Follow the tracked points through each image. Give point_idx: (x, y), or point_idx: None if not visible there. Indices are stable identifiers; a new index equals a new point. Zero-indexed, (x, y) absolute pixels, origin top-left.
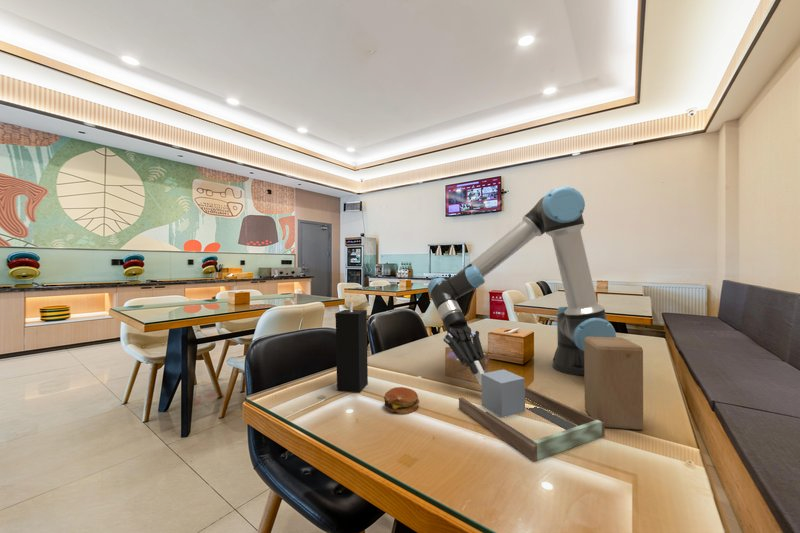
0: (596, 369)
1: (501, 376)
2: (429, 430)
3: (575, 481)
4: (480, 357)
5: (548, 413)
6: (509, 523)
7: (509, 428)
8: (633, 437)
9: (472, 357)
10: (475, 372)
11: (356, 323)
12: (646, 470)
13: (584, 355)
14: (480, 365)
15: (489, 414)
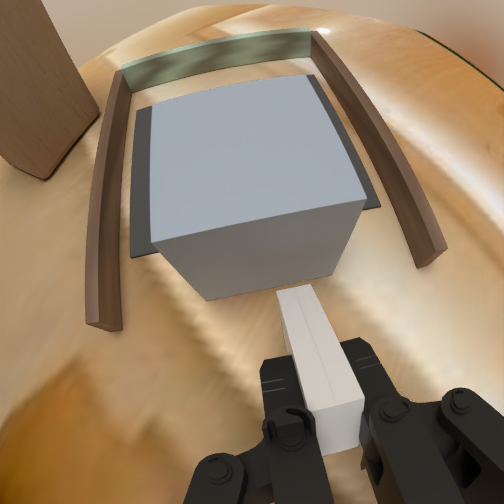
0: (44, 17)
1: (254, 131)
2: (499, 174)
3: (279, 28)
4: (280, 420)
5: (140, 167)
6: (388, 23)
7: (336, 64)
8: (90, 91)
9: (379, 437)
10: (357, 341)
11: None
12: (166, 39)
13: None
14: (302, 369)
15: None
